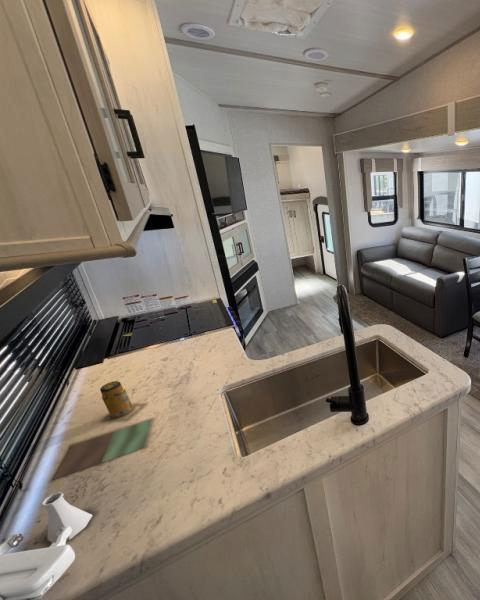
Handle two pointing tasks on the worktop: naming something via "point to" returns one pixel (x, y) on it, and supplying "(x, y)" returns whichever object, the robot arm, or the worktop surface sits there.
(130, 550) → the worktop surface
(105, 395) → the condiment
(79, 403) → the worktop surface
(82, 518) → the flask
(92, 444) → the sorting board
